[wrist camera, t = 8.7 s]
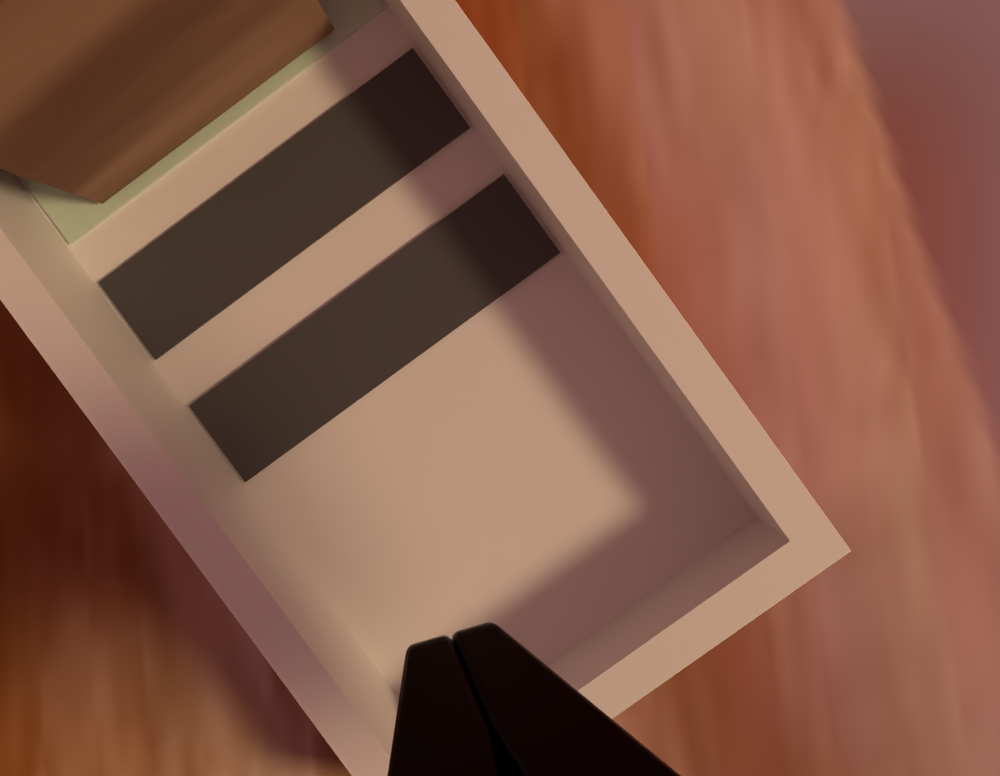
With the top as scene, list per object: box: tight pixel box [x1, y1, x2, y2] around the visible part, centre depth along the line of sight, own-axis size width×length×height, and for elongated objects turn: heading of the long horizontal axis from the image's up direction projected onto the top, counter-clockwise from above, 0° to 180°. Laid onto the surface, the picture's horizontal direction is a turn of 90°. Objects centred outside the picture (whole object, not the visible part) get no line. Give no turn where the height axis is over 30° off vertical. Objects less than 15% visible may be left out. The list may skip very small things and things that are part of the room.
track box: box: [0, 0, 851, 776], centre depth 19 cm, size 21×10×4 cm, turn 36°
